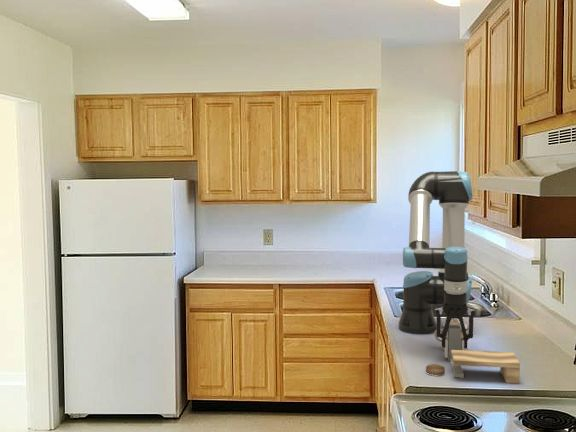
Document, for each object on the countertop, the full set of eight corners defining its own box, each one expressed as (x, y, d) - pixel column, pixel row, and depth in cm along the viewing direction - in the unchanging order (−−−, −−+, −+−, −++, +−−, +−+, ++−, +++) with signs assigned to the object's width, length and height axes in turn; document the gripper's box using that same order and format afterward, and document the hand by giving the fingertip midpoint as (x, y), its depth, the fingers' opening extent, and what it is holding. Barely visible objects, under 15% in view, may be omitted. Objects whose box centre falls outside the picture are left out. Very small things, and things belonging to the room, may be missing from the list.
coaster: (425, 369, 198) (425, 363, 198) (443, 370, 197) (443, 364, 197) (427, 376, 192) (427, 370, 192) (445, 377, 191) (445, 371, 191)
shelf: (450, 368, 198) (451, 349, 197) (512, 371, 194) (513, 352, 194) (453, 380, 188) (454, 360, 187) (519, 383, 185) (519, 363, 184)
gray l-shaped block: (447, 357, 208) (447, 324, 206) (459, 358, 207) (459, 325, 205) (452, 377, 190) (452, 342, 189) (465, 378, 189) (465, 342, 188)
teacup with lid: (468, 346, 218) (469, 316, 217) (467, 355, 210) (467, 323, 208) (435, 343, 222) (436, 313, 221) (432, 351, 214) (433, 320, 212)
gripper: (429, 294, 200) (428, 359, 203) (483, 295, 197) (482, 361, 200) (428, 288, 207) (427, 351, 210) (480, 289, 204) (479, 353, 207)
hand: (454, 356), depth 205 cm, fingers open, 5 cm apart
